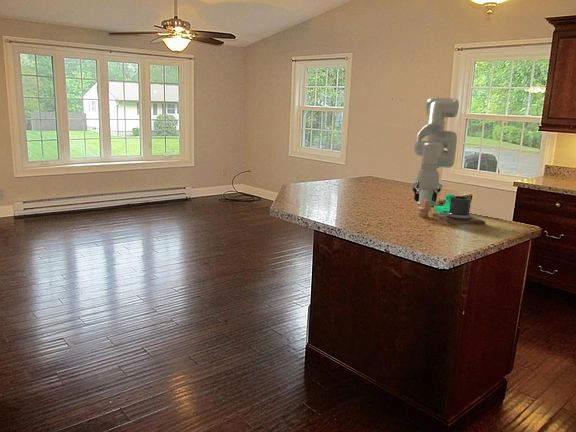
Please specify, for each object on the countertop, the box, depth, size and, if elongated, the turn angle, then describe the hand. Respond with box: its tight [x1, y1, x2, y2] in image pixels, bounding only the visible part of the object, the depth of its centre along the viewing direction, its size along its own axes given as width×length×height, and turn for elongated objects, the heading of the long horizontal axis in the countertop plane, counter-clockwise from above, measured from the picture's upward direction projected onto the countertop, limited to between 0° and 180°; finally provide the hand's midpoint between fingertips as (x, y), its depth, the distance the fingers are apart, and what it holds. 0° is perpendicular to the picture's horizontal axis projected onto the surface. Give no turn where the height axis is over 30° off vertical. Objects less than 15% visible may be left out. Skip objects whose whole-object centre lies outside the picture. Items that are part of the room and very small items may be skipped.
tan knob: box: [417, 199, 432, 219], centre depth 248 cm, size 6×6×9 cm
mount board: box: [432, 212, 486, 226], centre depth 245 cm, size 18×18×2 cm
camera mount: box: [433, 193, 456, 213], centre depth 260 cm, size 12×8×10 cm, turn 10°
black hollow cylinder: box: [446, 195, 473, 220], centre depth 243 cm, size 12×12×10 cm
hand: (425, 201), depth 246 cm, fingers open, 9 cm apart
